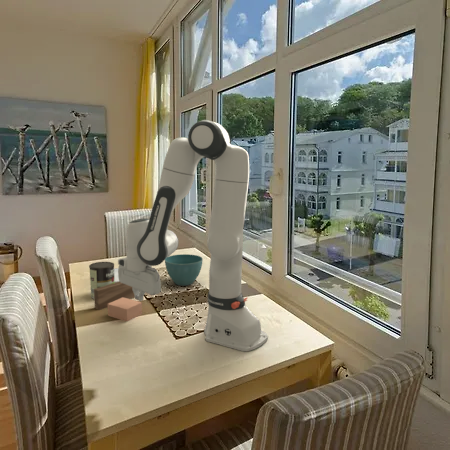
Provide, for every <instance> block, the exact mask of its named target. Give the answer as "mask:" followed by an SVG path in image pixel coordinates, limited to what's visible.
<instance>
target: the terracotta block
mask: <svg viewBox="0 0 450 450" xmlns="http://www.w3.org/2000/svg"><path fill="white" fill-rule="evenodd" d="M142 304H143V302H142V301H139V300H136V299H135V300H134V299H127V298H124V297H122V298H120V299H118V300H115V301H113V302H111V303H108V304H107V306H108V307H107V316H109V317H111V318H115V319H116V320H117V319H118V320H120V321H125V322H130V321H131V320H133V319H135V318H137V317H139V316H141V315H143V305H142Z"/></svg>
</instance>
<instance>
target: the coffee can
mask: <svg viewBox="0 0 450 450" xmlns="http://www.w3.org/2000/svg"><path fill="white" fill-rule="evenodd" d="M88 267H89V280H90V281H89V283H90V284H89V285H90V298H92V299H94V289H96V288H99V287H103V286H106V285H109V284H113V283H115V279H114V269H115V263H114V262H112V261H111V262H110V261H97V262H93V263H91V264H89V265H88Z"/></svg>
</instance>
